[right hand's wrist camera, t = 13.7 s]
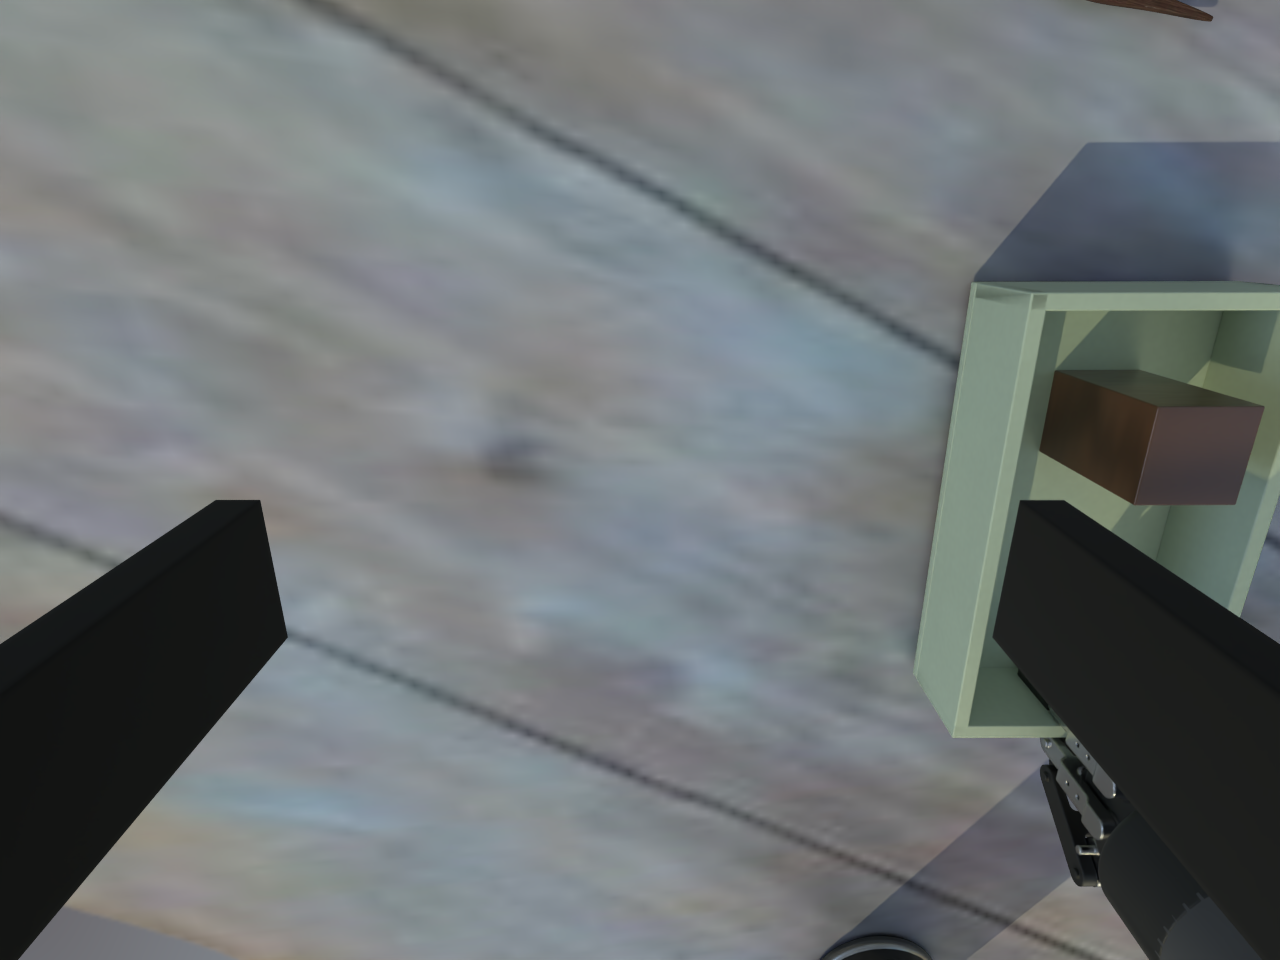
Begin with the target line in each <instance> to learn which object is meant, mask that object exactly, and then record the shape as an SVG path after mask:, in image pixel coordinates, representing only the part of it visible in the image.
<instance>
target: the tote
mask: <svg viewBox="0 0 1280 960" xmlns="http://www.w3.org/2000/svg"><path fill="white" fill-rule="evenodd" d="M1055 370H1142V371H1146V372H1149V373H1153V374H1156V375H1160V376H1163V377H1166V378H1170V379H1173V380H1177V381H1180V382H1184V383H1187V384H1190V385H1194V386H1197V387H1201V388H1204V389H1208V390H1211V391H1214V392H1218V393H1221V394H1225V395H1228V396H1232V397H1235V398H1238V399H1242V400H1245V401H1249V402H1252V403H1256V404H1259V405H1262V406H1264V407H1265V409H1264V412H1263V415H1262V419H1261V422H1260V425H1259V429H1258V432H1257V435H1256V439H1255V442H1254V445H1253V449H1252V452H1251V455H1250V459H1249V462H1248V465H1247V468H1246V472H1245V475H1244V478H1243V482H1242V485H1241V488H1240V492H1239V495H1238V498H1237V502H1236V504H1235V505H1141V506H1135V505H1133V504H1131V503H1129V502H1127V501H1126V500H1124V499H1122V498H1120V497H1119V496H1117V495H1115V494H1113V493H1112V492H1110V491H1108V490H1106V489H1104V488H1103V487H1101V486H1099V485H1097V484H1096V483H1094V482H1092V481H1090V480H1089V479H1087V478H1085V477H1083V476H1082V475H1080V474H1078V473H1076V472H1075V471H1073V470H1071V469H1069V468H1068V467H1066V466H1064V465H1062V464H1061V463H1059V462H1057V461H1055V460H1054V459H1052V458H1050V457H1048V456H1047V455H1045V454H1043V453H1041V452H1040V451H1039V449H1040V444H1041V439H1042V434H1043V428H1044V423H1045V418H1046V413H1047V408H1048V403H1049V397H1050V392H1051V387H1052V382H1053V377H1054V372H1055ZM1279 495H1280V285H1272V284H1262V283H1251V282H1241V281H1092V282H972V284H971V291H970V297H969V304H968V310H967V317H966V324H965V330H964V337H963V344H962V350H961V357H960V364H959V370H958V377H957V384H956V390H955V397H954V404H953V410H952V417H951V424H950V430H949V437H948V443H947V450H946V457H945V463H944V470H943V477H942V483H941V490H940V497H939V503H938V510H937V517H936V523H935V530H934V537H933V543H932V550H931V557H930V563H929V570H928V576H927V583H926V590H925V596H924V603H923V610H922V616H921V623H920V630H919V636H918V643H917V650H916V656H915V663H914V670H913V674H914V675H915V677H916V678H917V680H918V682H919V684H920V685H921V687H922V688H923V690H924V692H925V693H926V695H927V697H928V698H929V700H930V702H931V703H932V705H933V707H934V708H935V710H936V711H937V713H938V715H939V716H940V718H941V720H942V721H943V723H944V725H945V726H946V728H947V730H948V731H949V733H950V734H951V736H952V737H953V738H1047V737H1066V736H1067V733H1066V731H1065V730H1064V729H1063V728H1062V727H1061V725H1060V724H1059V723H1058V722H1057V721H1056V720H1055V718H1054V717H1053V716H1052V715H1051V713H1050V710H1046V708H1045V707H1044V706H1043V705H1042V704H1041V703H1040V701H1039V700H1038V699H1037V698H1036V697H1035V695H1034V694H1033V693H1032V692H1031V691H1030V689H1029V688H1028V687H1027V686H1026V685H1025V683H1024V682H1023V681H1022V680H1021V679H1020V677H1019V676H1018V674H1017V673H1018V668H1017V666H1016V665H1015V664H1014V663H1013V662H1012V660H1011V659H1010V658H1009V657H1008V656H1007V654H1006V653H1005V652H1004V651H1003V650H1002V648H1001V647H1000V646H999V645H998V644H997V642H996V641H995V640H994V639H993V638H992V636H993V631H994V626H995V621H996V616H997V611H998V606H999V601H1000V597H1001V592H1002V587H1003V582H1004V577H1005V572H1006V567H1007V562H1008V557H1009V552H1010V547H1011V542H1012V537H1013V532H1014V527H1015V522H1016V517H1017V512H1018V507H1019V502H1020V500H1065V501H1066V502H1068V503H1069V504H1071V505H1072V506H1074V507H1075V508H1077V509H1078V510H1080V511H1081V512H1083V513H1084V514H1086V515H1087V516H1089V517H1090V518H1092V519H1093V520H1095V521H1096V522H1098V523H1099V524H1101V525H1102V526H1104V527H1105V528H1107V529H1108V530H1110V531H1111V532H1113V533H1114V534H1116V535H1117V536H1119V537H1120V538H1122V539H1123V540H1125V541H1126V542H1128V543H1129V544H1131V545H1132V546H1134V547H1135V548H1137V549H1138V550H1140V551H1141V552H1143V553H1144V554H1146V555H1147V556H1149V557H1150V558H1152V559H1153V560H1154V561H1156V562H1157V563H1159V564H1160V565H1162V566H1163V567H1165V568H1166V569H1168V570H1169V571H1171V572H1172V573H1174V574H1175V575H1177V576H1178V577H1180V578H1181V579H1183V580H1184V581H1186V582H1187V583H1189V584H1190V585H1192V586H1193V587H1195V588H1196V589H1198V590H1199V591H1201V592H1202V593H1204V594H1205V595H1207V596H1208V597H1210V598H1211V599H1213V600H1214V601H1216V602H1217V603H1219V604H1220V605H1222V606H1223V607H1225V608H1226V609H1228V610H1229V611H1231V612H1232V613H1234V614H1235V615H1237V616H1238V617H1240V615H1241V612H1242V609H1243V606H1244V603H1245V600H1246V597H1247V594H1248V591H1249V588H1250V584H1251V581H1252V578H1253V575H1254V572H1255V569H1256V566H1257V563H1258V560H1259V557H1260V554H1261V551H1262V547H1263V544H1264V541H1265V538H1266V535H1267V532H1268V529H1269V526H1270V523H1271V520H1272V517H1273V514H1274V510H1275V507H1276V504H1277V501H1278V498H1279Z"/></svg>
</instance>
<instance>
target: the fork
mask: <svg viewBox="0 0 1280 960" xmlns="http://www.w3.org/2000/svg"><path fill="white" fill-rule="evenodd" d="M1088 1H1091V2H1096V3H1100V4H1106V5H1112V6H1119V7H1126V8H1133V9H1140V10H1146V11H1152V12H1157V13H1163V14H1168V15H1173V16H1178V17H1184V18H1189V19H1195V20H1201V21H1212V19H1213V16H1211V15H1209V14H1207V13H1205V12H1203V11H1201V10H1199V9H1196V8H1194V7H1191V6H1189V5H1187V4H1184V3H1182V2H1179V1H1177V0H1088Z"/></svg>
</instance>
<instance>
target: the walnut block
mask: <svg viewBox="0 0 1280 960" xmlns="http://www.w3.org/2000/svg"><path fill="white" fill-rule="evenodd" d="M1264 409H1265V407H1264V406H1262V405H1259V404H1256V403H1252V402H1249V401H1245V400H1242V399H1238V398H1235V397H1232V396H1228V395H1225V394H1221V393H1218V392H1214V391H1211V390H1208V389H1204V388H1201V387H1197V386H1194V385H1190V384H1187V383H1184V382H1180V381H1177V380H1173V379H1170V378H1166V377H1163V376H1160V375H1156V374H1153V373H1149V372H1146V371H1142V370H1055V372H1054V377H1053V382H1052V387H1051V392H1050V397H1049V403H1048V408H1047V413H1046V418H1045V423H1044V428H1043V434H1042V439H1041V444H1040V449H1039V451H1040V452H1041V453H1043V454H1045V455H1047V456H1048V457H1050V458H1052V459H1054V460H1055V461H1057V462H1059V463H1061V464H1062V465H1064V466H1066V467H1068V468H1069V469H1071V470H1073V471H1075V472H1076V473H1078V474H1080V475H1082V476H1083V477H1085V478H1087V479H1089V480H1090V481H1092V482H1094V483H1096V484H1097V485H1099V486H1101V487H1103V488H1104V489H1106V490H1108V491H1110V492H1112V493H1113V494H1115V495H1117V496H1119V497H1120V498H1122V499H1124V500H1126V501H1127V502H1129V503H1131V504H1133V505H1135V506H1141V505H1235V504H1236V502H1237V498H1238V495H1239V492H1240V488H1241V485H1242V482H1243V478H1244V475H1245V472H1246V468H1247V465H1248V462H1249V459H1250V455H1251V452H1252V449H1253V445H1254V442H1255V439H1256V435H1257V432H1258V429H1259V425H1260V422H1261V419H1262V415H1263V412H1264Z"/></svg>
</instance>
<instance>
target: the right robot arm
mask: <svg viewBox="0 0 1280 960" xmlns="http://www.w3.org/2000/svg"><path fill="white" fill-rule="evenodd" d="M287 638H288V636H287V631H286V626H285V621H284V616H283V611H282V606H281V601H280V597H279V592H278V587H277V582H276V577H275V572H274V567H273V562H272V557H271V552H270V547H269V542H268V537H267V532H266V527H265V522H264V517H263V512H262V507H261V502H260V500H215V501H214V502H212V503H211V504H209V505H208V506H206V507H205V508H203V509H202V510H200V511H199V512H197V513H196V514H194V515H193V516H191V517H190V518H188V519H187V520H185V521H184V522H182V523H181V524H179V525H178V526H176V527H175V528H173V529H172V530H170V531H169V532H167V533H166V534H164V535H163V536H161V537H160V538H158V539H157V540H155V541H154V542H152V543H151V544H149V545H148V546H146V547H145V548H143V549H142V550H140V551H139V552H137V553H136V554H134V555H133V556H131V557H130V558H128V559H127V560H126V561H124V562H123V563H121V564H120V565H118V566H117V567H115V568H114V569H112V570H111V571H109V572H108V573H106V574H105V575H103V576H102V577H100V578H99V579H97V580H96V581H94V582H93V583H91V584H90V585H88V586H87V587H85V588H84V589H82V590H81V591H79V592H78V593H76V594H75V595H73V596H72V597H70V598H69V599H67V600H66V601H64V602H63V603H61V604H60V605H58V606H57V607H55V608H54V609H52V610H51V611H49V612H48V613H46V614H45V615H43V616H42V617H40V618H39V619H37V620H36V621H34V622H33V623H31V624H30V625H28V626H27V627H25V628H24V629H22V630H21V631H19V632H18V633H16V634H15V635H13V636H12V637H10V638H9V639H7V640H6V641H4V642H3V643H1V644H0V960H18V959H19V958H20V957H21V955H22V954H23V953H24V952H25V951H26V950H27V948H28V947H29V946H30V945H31V944H32V942H33V941H34V940H35V939H36V938H37V936H38V935H39V934H40V933H41V932H42V930H43V929H44V928H45V927H46V926H47V924H48V923H49V922H50V921H51V920H52V918H53V917H54V916H55V915H56V914H57V912H58V911H59V910H60V909H61V908H62V907H63V905H64V904H65V903H66V902H67V901H68V899H69V898H70V897H71V896H72V895H73V893H74V892H75V891H76V890H77V889H78V887H79V886H80V885H81V884H82V883H83V881H84V880H85V879H86V878H87V877H88V875H89V874H90V873H91V872H92V871H93V869H94V868H95V867H96V866H97V865H98V863H99V862H100V861H101V860H102V859H103V858H104V856H105V855H106V854H107V853H108V852H109V850H110V849H111V848H112V847H113V846H114V844H115V843H116V842H117V841H118V840H119V838H120V837H121V836H122V835H123V834H124V832H125V831H126V830H127V829H128V828H129V826H130V825H131V824H132V823H133V822H134V820H135V819H136V818H137V817H138V816H139V814H140V813H141V812H142V811H143V810H144V809H145V807H146V806H147V805H148V804H149V803H150V801H151V800H152V799H153V798H154V797H155V795H156V794H157V793H158V792H159V791H160V789H161V788H162V787H163V786H164V785H165V783H166V782H167V781H168V780H169V779H170V777H171V776H172V775H173V774H174V773H175V771H176V770H177V769H178V768H179V767H180V765H181V764H182V763H183V762H184V761H185V760H186V758H187V757H188V756H189V755H190V754H191V752H192V751H193V750H194V749H195V748H196V746H197V745H198V744H199V743H200V742H201V740H202V739H203V738H204V737H205V736H206V734H207V733H208V732H209V731H210V730H211V728H212V727H213V726H214V725H215V724H216V722H217V721H218V720H219V719H220V718H221V717H222V715H223V714H224V713H225V712H226V711H227V709H228V708H229V707H230V706H231V705H232V703H233V702H234V701H235V700H236V699H237V697H238V696H239V695H240V694H241V693H242V691H243V690H244V689H245V688H246V687H247V685H248V684H249V683H250V682H251V681H252V679H253V678H254V677H255V676H256V675H257V673H258V672H259V671H260V670H261V669H262V668H263V666H264V665H265V664H266V663H267V662H268V660H269V659H270V658H271V657H272V656H273V654H274V653H275V652H276V651H277V650H278V648H279V647H280V646H281V645H282V644H283V642H284V641H285V640H286V639H287ZM992 638H993V639H994V640H995V641H996V642H997V644H998V645H999V646H1000V647H1001V648H1002V650H1003V651H1004V652H1005V653H1006V654H1007V656H1008V657H1009V658H1010V659H1011V660H1012V662H1013V663H1014V664H1015V665H1016V666H1017V668H1018V669H1019V670H1020V671H1021V672H1022V673H1023V675H1024V676H1025V677H1026V678H1027V679H1028V681H1029V682H1030V683H1031V684H1032V685H1033V687H1034V688H1035V689H1036V690H1037V691H1038V693H1039V694H1040V695H1041V696H1042V697H1043V699H1044V700H1045V701H1046V702H1047V703H1048V705H1049V706H1050V707H1051V708H1052V709H1053V711H1054V712H1055V713H1056V714H1057V715H1058V717H1059V718H1060V719H1061V720H1062V721H1063V722H1064V724H1065V725H1066V726H1067V727H1068V728H1069V730H1070V731H1071V732H1072V733H1073V734H1074V736H1075V737H1076V738H1077V739H1078V740H1079V742H1080V743H1081V744H1082V745H1083V746H1084V748H1085V749H1086V750H1087V751H1088V752H1089V754H1090V755H1091V756H1092V757H1093V758H1094V760H1095V761H1096V762H1097V763H1098V764H1099V765H1100V767H1101V768H1102V769H1103V770H1104V771H1105V773H1106V774H1107V775H1108V776H1109V777H1110V779H1111V780H1112V781H1113V782H1114V783H1115V785H1116V786H1117V787H1118V788H1119V789H1120V791H1121V792H1122V793H1123V794H1124V795H1125V797H1126V798H1127V799H1128V800H1129V801H1130V803H1131V804H1132V805H1133V806H1134V807H1135V809H1136V810H1137V811H1138V812H1139V813H1140V814H1141V816H1142V817H1143V818H1144V819H1145V820H1146V822H1147V823H1148V824H1149V825H1150V826H1151V828H1152V829H1153V830H1154V831H1155V832H1156V834H1157V835H1158V836H1159V837H1160V838H1161V840H1162V841H1163V842H1164V843H1165V844H1166V846H1167V847H1168V848H1169V849H1170V850H1171V852H1172V853H1173V854H1174V855H1175V856H1176V858H1177V859H1178V860H1179V861H1180V862H1181V863H1182V865H1183V866H1184V867H1185V868H1186V869H1187V871H1188V872H1189V873H1190V874H1191V875H1192V877H1193V878H1194V879H1195V880H1196V881H1197V883H1198V884H1199V885H1200V886H1201V887H1202V889H1203V890H1204V891H1205V892H1206V893H1207V895H1208V896H1209V897H1210V898H1211V899H1212V901H1213V902H1214V903H1215V904H1216V905H1217V907H1218V908H1219V909H1220V910H1221V911H1222V912H1223V914H1224V915H1225V916H1226V917H1227V918H1228V920H1229V921H1230V922H1231V923H1232V924H1233V926H1234V927H1235V928H1236V929H1237V930H1238V932H1239V933H1240V934H1241V935H1242V936H1243V938H1244V939H1245V940H1246V941H1247V942H1248V944H1249V945H1250V946H1251V947H1252V948H1253V950H1254V951H1255V952H1256V953H1257V954H1258V956H1259V957H1260V958H1261V959H1262V960H1280V644H1279V643H1277V642H1276V641H1274V640H1273V639H1271V638H1270V637H1268V636H1267V635H1265V634H1264V633H1262V632H1261V631H1259V630H1258V629H1256V628H1255V627H1253V626H1252V625H1250V624H1249V623H1247V622H1246V621H1244V620H1243V619H1241V618H1240V617H1238V616H1237V615H1235V614H1234V613H1232V612H1231V611H1229V610H1228V609H1226V608H1225V607H1223V606H1222V605H1220V604H1219V603H1217V602H1216V601H1214V600H1213V599H1211V598H1210V597H1208V596H1207V595H1205V594H1204V593H1202V592H1201V591H1199V590H1198V589H1196V588H1195V587H1193V586H1192V585H1190V584H1189V583H1187V582H1186V581H1184V580H1183V579H1181V578H1180V577H1178V576H1177V575H1175V574H1174V573H1172V572H1171V571H1169V570H1168V569H1166V568H1165V567H1163V566H1162V565H1160V564H1159V563H1157V562H1156V561H1154V560H1153V559H1152V558H1150V557H1149V556H1147V555H1146V554H1144V553H1143V552H1141V551H1140V550H1138V549H1137V548H1135V547H1134V546H1132V545H1131V544H1129V543H1128V542H1126V541H1125V540H1123V539H1122V538H1120V537H1119V536H1117V535H1116V534H1114V533H1113V532H1111V531H1110V530H1108V529H1107V528H1105V527H1104V526H1102V525H1101V524H1099V523H1098V522H1096V521H1095V520H1093V519H1092V518H1090V517H1089V516H1087V515H1086V514H1084V513H1083V512H1081V511H1080V510H1078V509H1077V508H1075V507H1074V506H1072V505H1071V504H1069V503H1068V502H1066V501H1065V500H1020V502H1019V507H1018V512H1017V517H1016V522H1015V527H1014V532H1013V537H1012V542H1011V547H1010V552H1009V557H1008V562H1007V567H1006V572H1005V577H1004V582H1003V587H1002V592H1001V597H1000V601H999V606H998V611H997V616H996V621H995V626H994V631H993V636H992Z"/></svg>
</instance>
